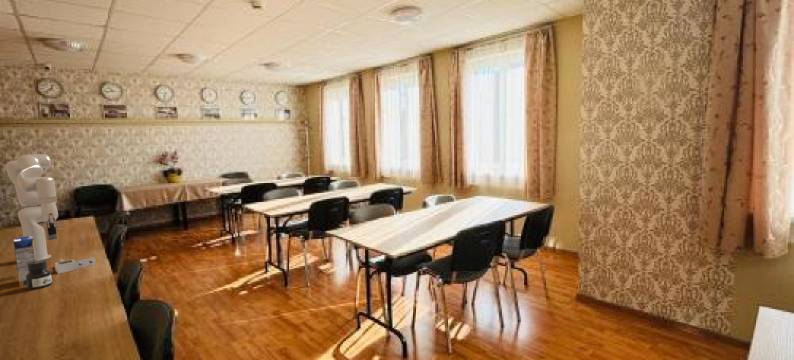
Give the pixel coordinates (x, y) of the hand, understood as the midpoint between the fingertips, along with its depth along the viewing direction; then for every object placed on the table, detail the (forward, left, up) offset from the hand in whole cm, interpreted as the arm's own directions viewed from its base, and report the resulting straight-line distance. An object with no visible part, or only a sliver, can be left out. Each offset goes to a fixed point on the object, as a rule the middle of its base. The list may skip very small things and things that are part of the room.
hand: (51, 233), depth 213 cm
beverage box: (+14, -12, -20) cm, 27 cm away
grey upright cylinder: (0, 0, -3) cm, 3 cm away
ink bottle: (+28, -10, -20) cm, 36 cm away
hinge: (+2, +8, -20) cm, 21 cm away
